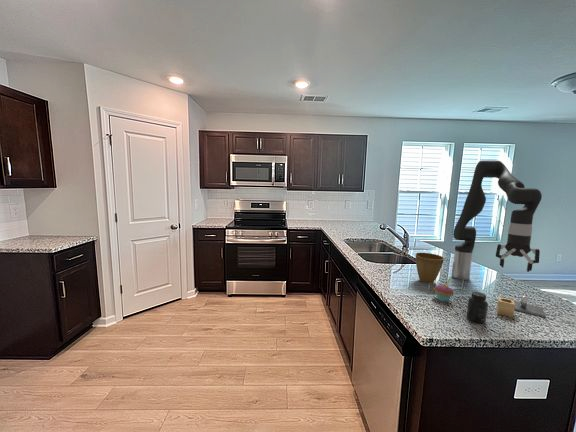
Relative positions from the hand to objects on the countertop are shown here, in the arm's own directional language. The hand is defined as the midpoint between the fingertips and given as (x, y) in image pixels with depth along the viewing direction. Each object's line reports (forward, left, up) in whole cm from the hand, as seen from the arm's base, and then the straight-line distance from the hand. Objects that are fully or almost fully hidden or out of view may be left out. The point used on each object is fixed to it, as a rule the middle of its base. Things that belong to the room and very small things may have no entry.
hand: (514, 269), depth 112 cm
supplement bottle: (-12, -18, -21) cm, 30 cm away
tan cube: (-2, -1, -21) cm, 21 cm away
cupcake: (-26, -4, -21) cm, 33 cm away
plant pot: (-37, +18, -21) cm, 46 cm away
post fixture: (+5, +11, -21) cm, 24 cm away
